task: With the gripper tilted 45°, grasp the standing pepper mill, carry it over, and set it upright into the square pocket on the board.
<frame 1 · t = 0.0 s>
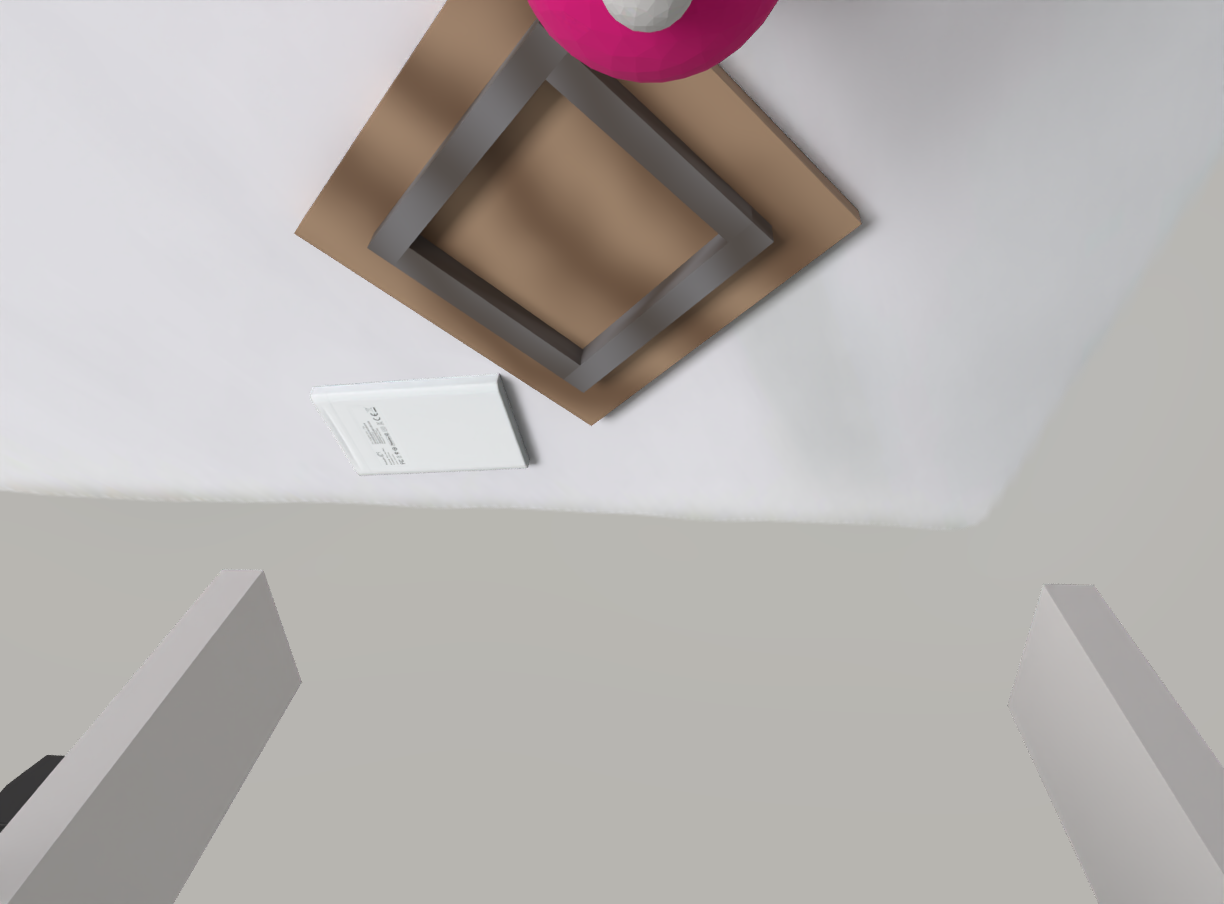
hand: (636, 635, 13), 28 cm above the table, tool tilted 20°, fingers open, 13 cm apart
external hard drive: (428, 416, 52), on the table
pocket board: (571, 215, 39), on the table
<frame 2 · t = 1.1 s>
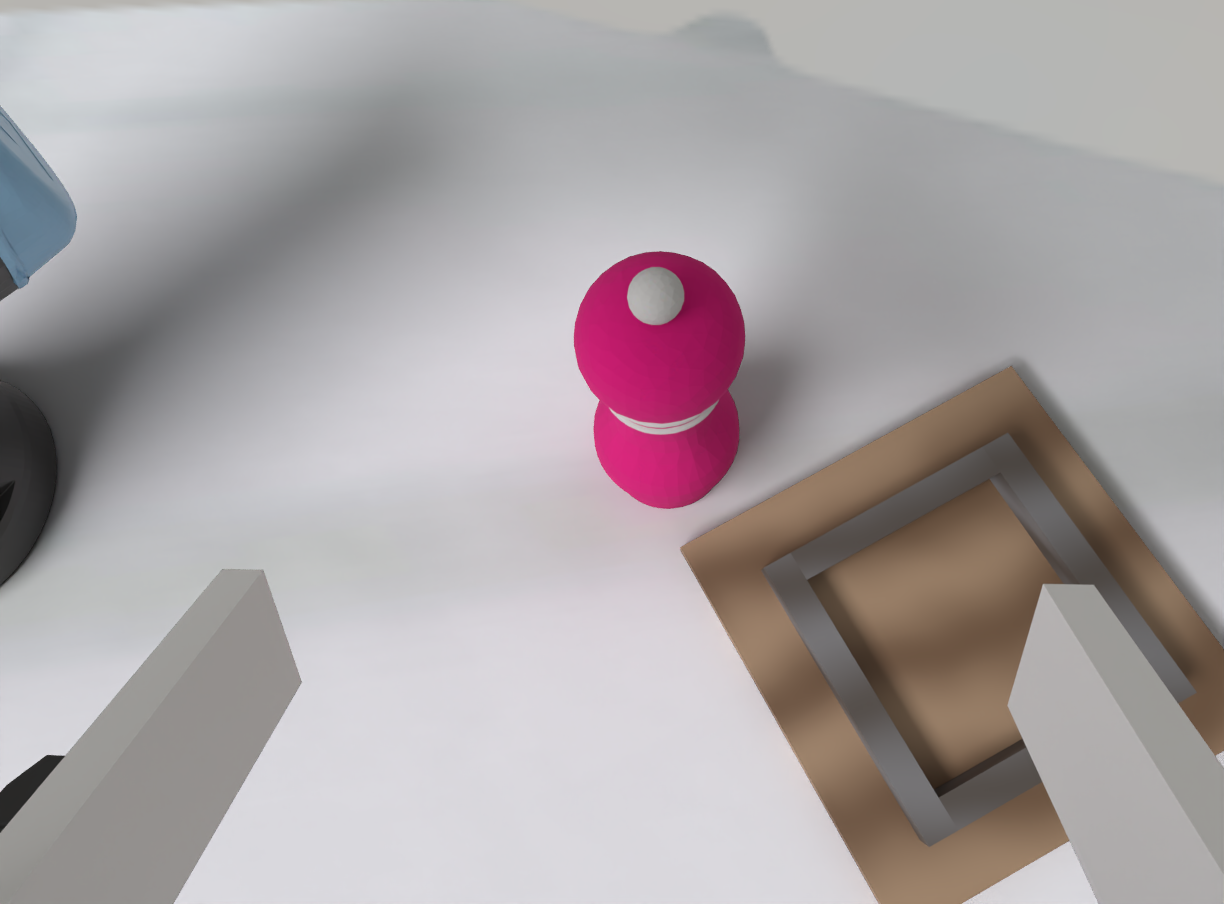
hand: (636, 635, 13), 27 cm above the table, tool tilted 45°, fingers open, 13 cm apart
pepper mill: (667, 454, 42), on the table
pocket board: (952, 629, 38), on the table
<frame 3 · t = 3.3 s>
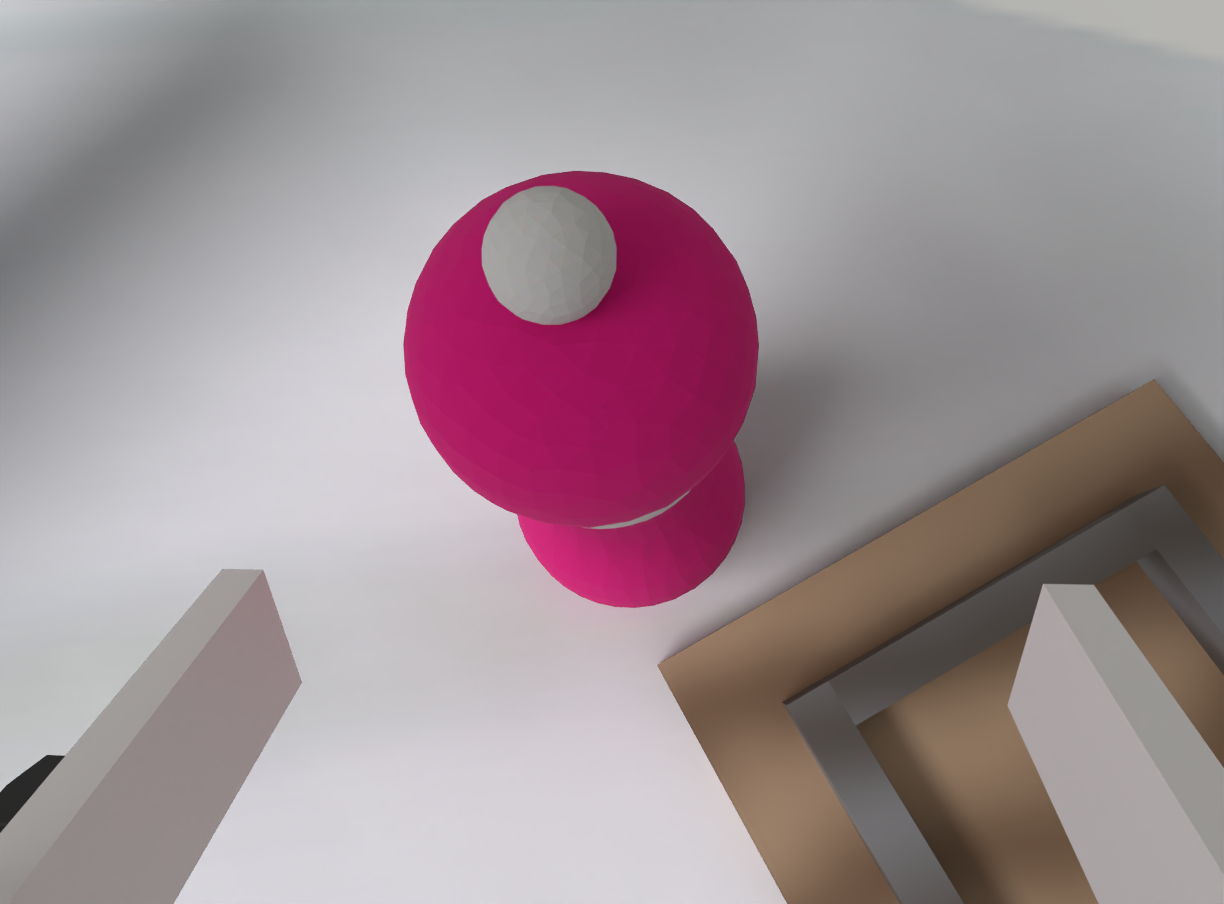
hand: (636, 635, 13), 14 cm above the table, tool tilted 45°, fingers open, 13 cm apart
pepper mill: (638, 516, 29), on the table
pocket board: (1080, 791, 25), on the table
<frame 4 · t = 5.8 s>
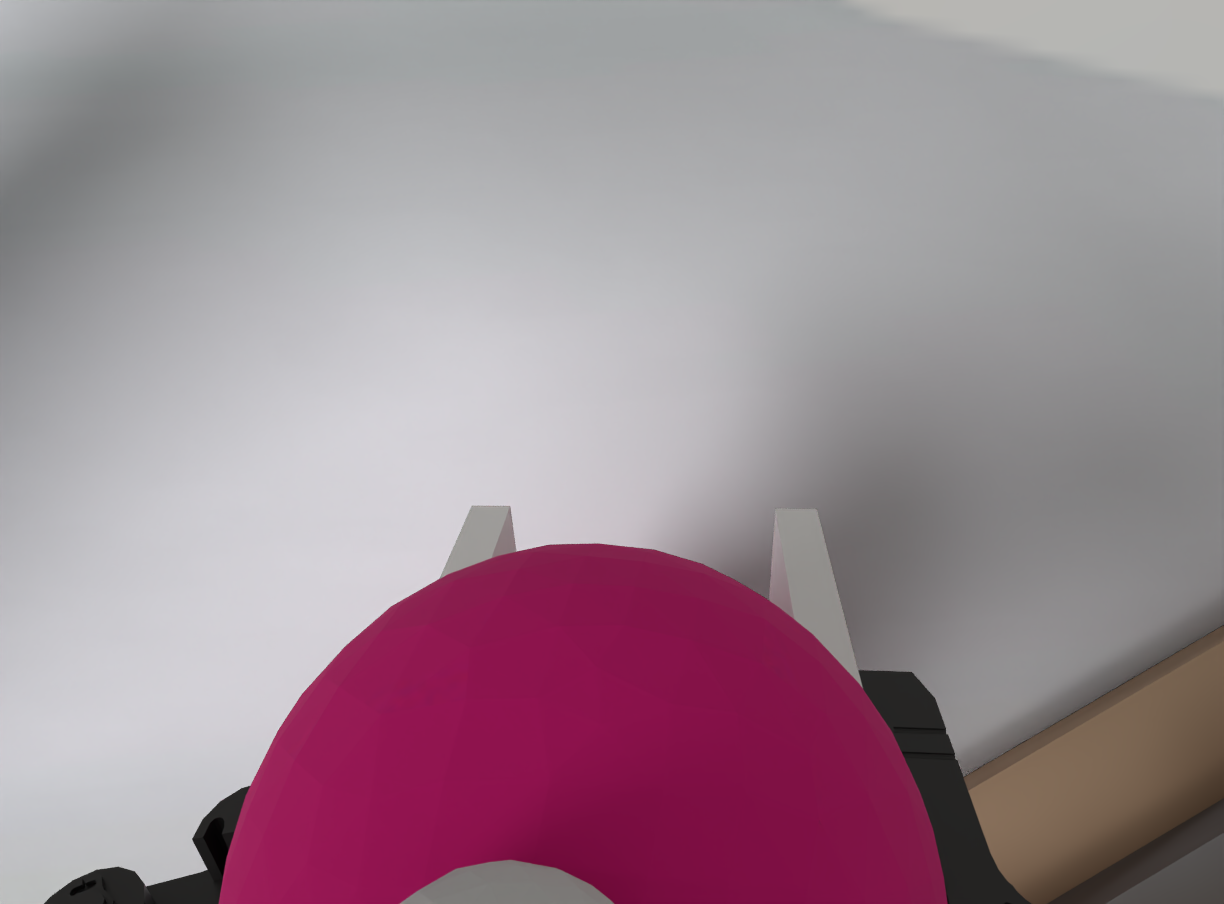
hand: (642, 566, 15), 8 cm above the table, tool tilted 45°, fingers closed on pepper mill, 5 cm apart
pepper mill: (656, 729, 22), on the table, touching gripper
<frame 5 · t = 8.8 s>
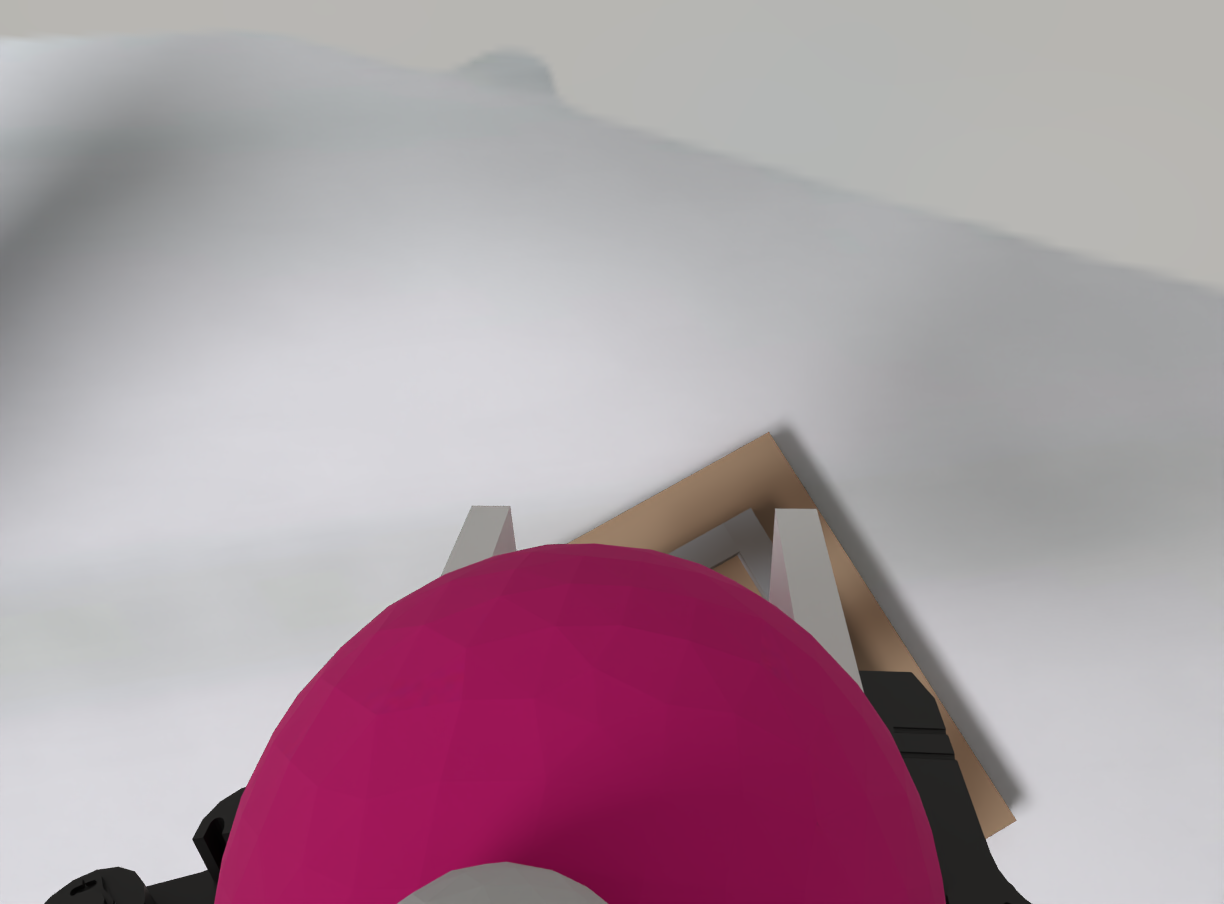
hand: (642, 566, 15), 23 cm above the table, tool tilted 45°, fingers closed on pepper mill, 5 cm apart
pepper mill: (656, 730, 22), point 15 cm above the table, touching gripper
pocket board: (694, 717, 36), on the table
when the fingers open (11 cm above the table, at t = 12.0 s): pepper mill drops 1 cm, resting on pocket board.
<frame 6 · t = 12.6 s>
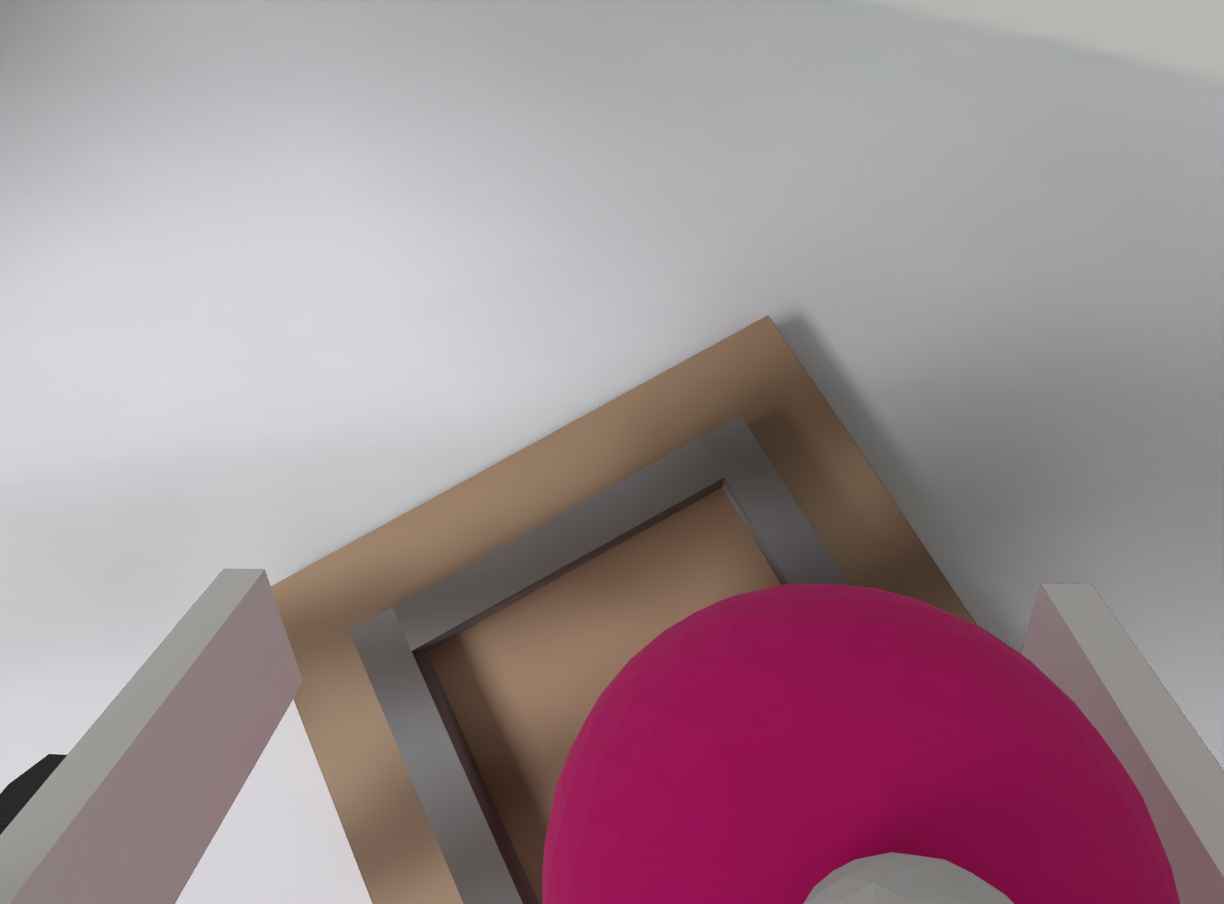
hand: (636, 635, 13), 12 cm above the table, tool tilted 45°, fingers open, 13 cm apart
pepper mill: (741, 739, 23), point 1 cm above the table, touching pocket board
pocket board: (659, 723, 25), on the table
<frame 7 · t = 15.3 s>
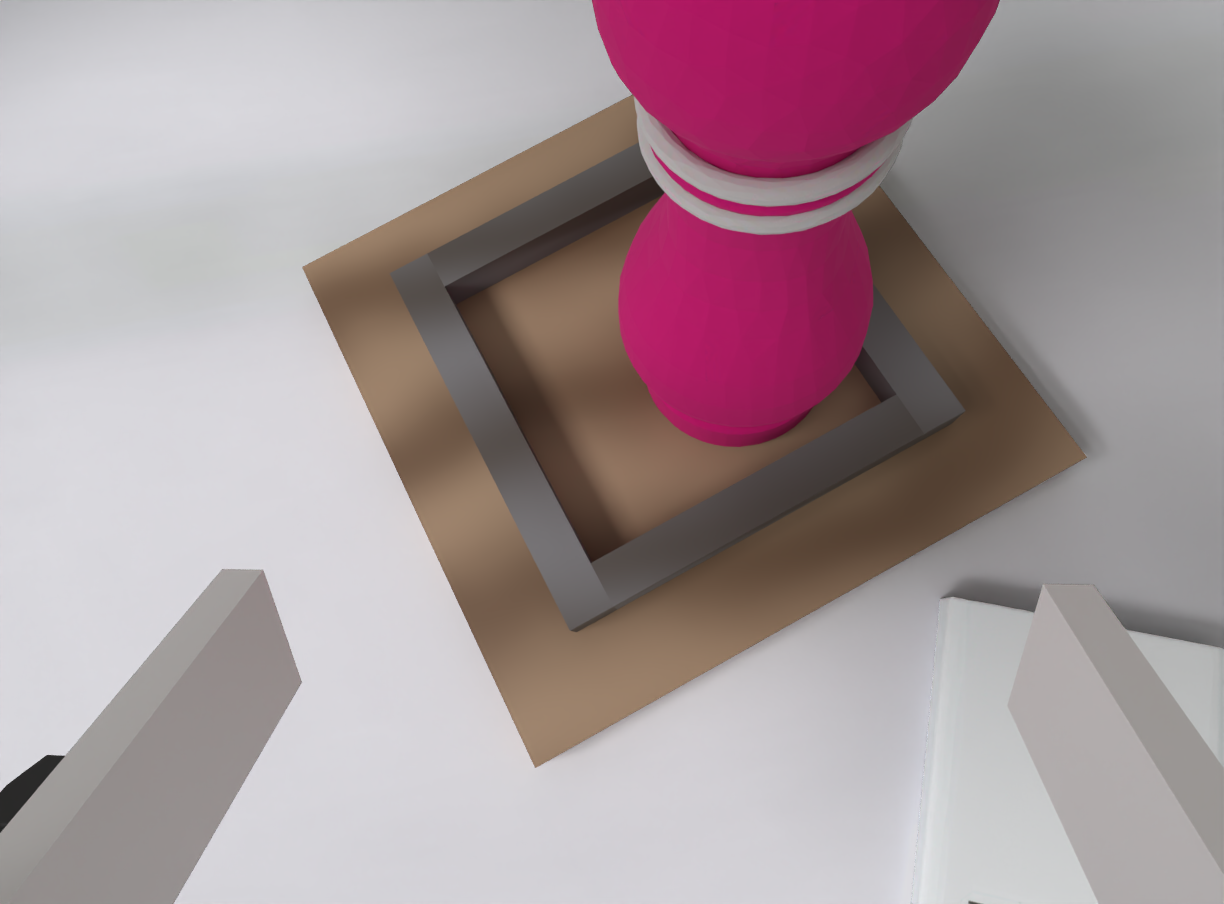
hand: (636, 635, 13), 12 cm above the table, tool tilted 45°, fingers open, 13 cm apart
pepper mill: (733, 363, 27), point 1 cm above the table, touching pocket board
external hard drive: (1049, 826, 24), on the table
pocket board: (661, 366, 28), on the table
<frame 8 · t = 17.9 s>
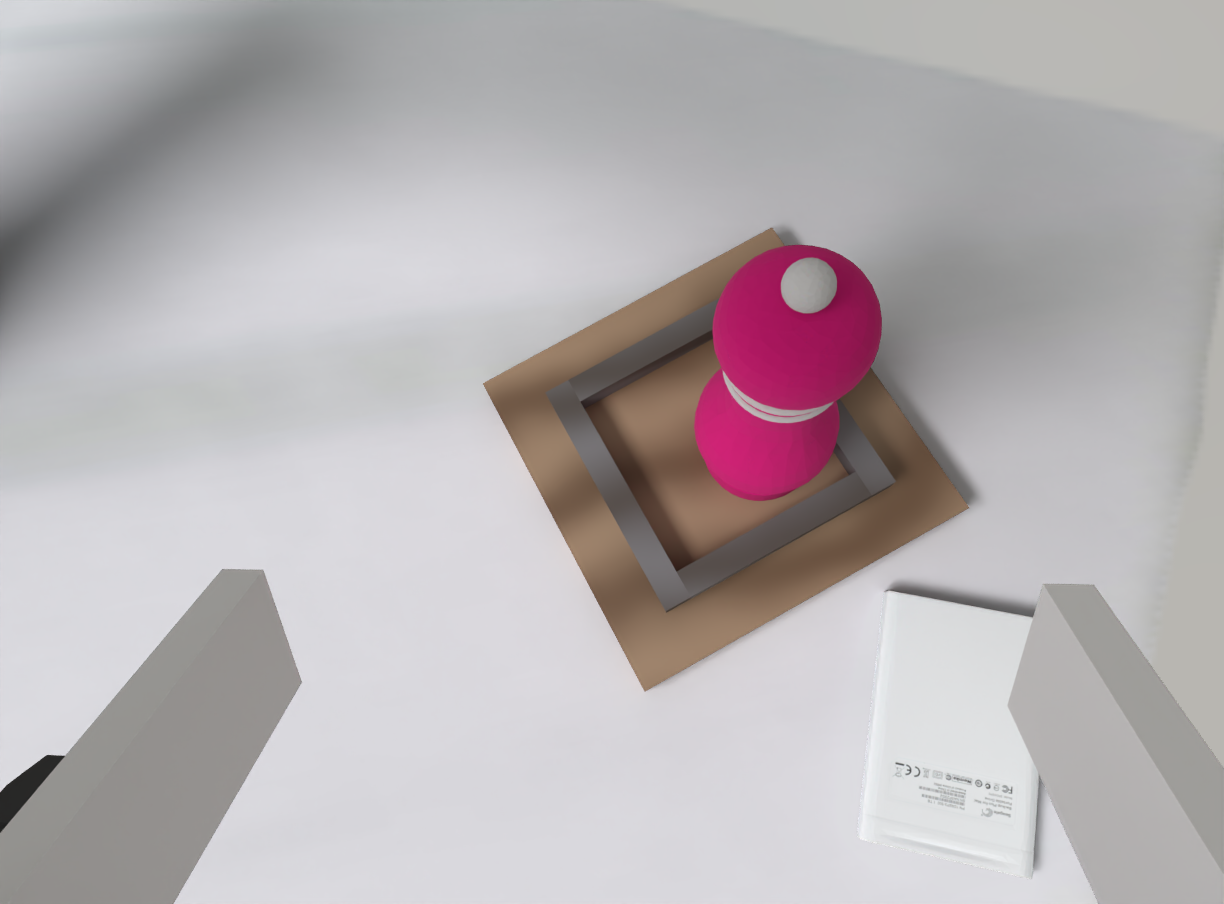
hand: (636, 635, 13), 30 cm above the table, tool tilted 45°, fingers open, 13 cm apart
pepper mill: (757, 448, 43), point 1 cm above the table, touching pocket board
external hard drive: (946, 724, 40), on the table
pocket board: (712, 448, 45), on the table
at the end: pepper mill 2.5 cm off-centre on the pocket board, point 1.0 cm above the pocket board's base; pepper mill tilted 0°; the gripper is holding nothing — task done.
